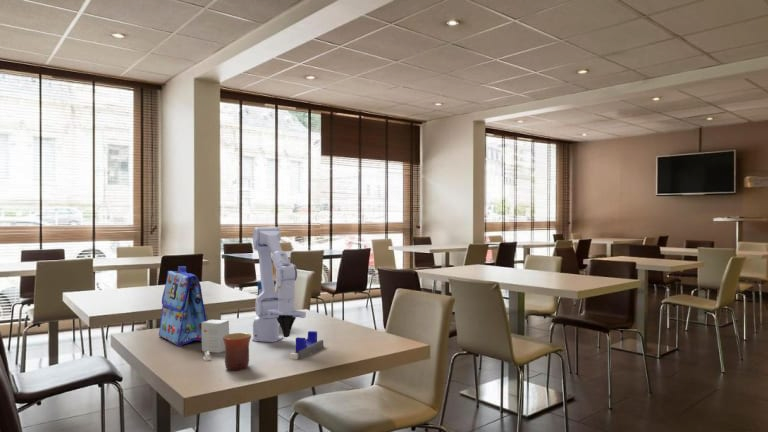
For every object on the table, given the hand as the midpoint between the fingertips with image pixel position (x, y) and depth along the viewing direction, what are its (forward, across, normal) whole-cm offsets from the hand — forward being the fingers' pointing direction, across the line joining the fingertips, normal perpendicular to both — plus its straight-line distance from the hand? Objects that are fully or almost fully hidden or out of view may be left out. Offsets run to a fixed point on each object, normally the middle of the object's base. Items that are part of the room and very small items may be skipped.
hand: (286, 336), depth 187 cm
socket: (+5, +9, 0) cm, 10 cm away
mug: (+5, -4, -23) cm, 24 cm away
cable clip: (+5, +7, +1) cm, 9 cm away
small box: (+5, -24, -8) cm, 26 cm away
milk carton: (+6, -29, +34) cm, 45 cm away
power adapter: (+6, -20, -20) cm, 29 cm away
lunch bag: (+6, -47, +3) cm, 48 cm away
